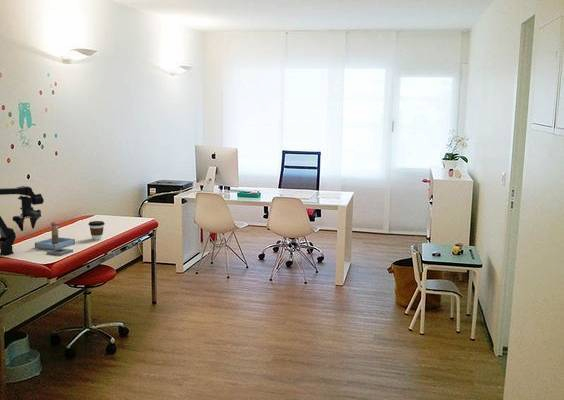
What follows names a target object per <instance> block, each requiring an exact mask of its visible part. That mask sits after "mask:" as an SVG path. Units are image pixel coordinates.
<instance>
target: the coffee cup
mask: <svg viewBox="0 0 564 400" xmlns="http://www.w3.org/2000/svg"><path fill="white" fill-rule="evenodd" d="M105 225H106V223H105V222H104V221H102V220H94V221H89V222H88V226H89V230H90V231H89V232H90V235H91V239H92V240H93V239H94V240H93V241H95V240H96V241H98V239H100V240H102V239H103V234H104V226H105ZM101 238H102V239H101Z"/></svg>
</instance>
